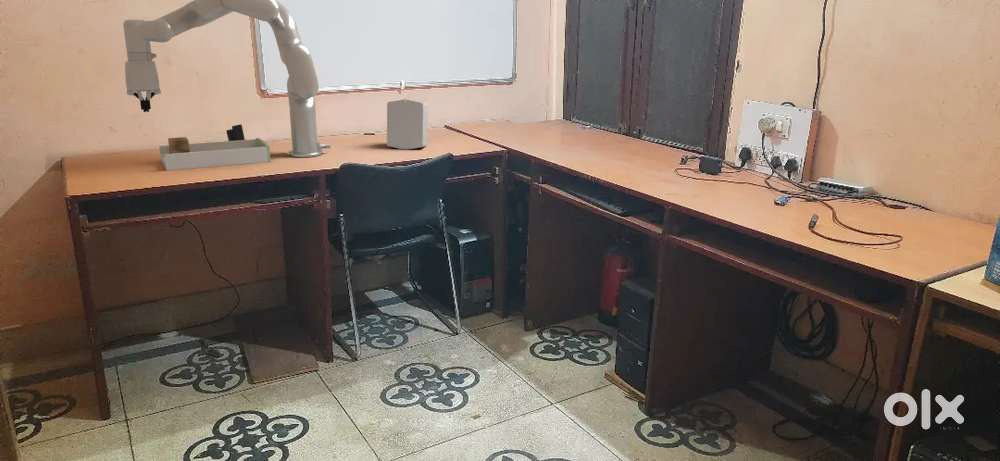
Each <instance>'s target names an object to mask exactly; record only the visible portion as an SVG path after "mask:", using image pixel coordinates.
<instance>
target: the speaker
mask: <svg viewBox="0 0 1000 461" xmlns="http://www.w3.org/2000/svg"><path fill="white" fill-rule="evenodd" d="M226 135H227V141H237V140H246V138H245V134H244V129H243V125H242V124H236V125H232V126H231V129H227V130H226Z"/></svg>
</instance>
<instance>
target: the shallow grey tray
mask: <svg viewBox="0 0 1000 461" xmlns="http://www.w3.org/2000/svg"><path fill="white" fill-rule="evenodd" d="M158 147H159V155H160V162H161V163H162V165H163V167H164V169H165V170H166V171H176V170H177V171H179V170H189V169H200V168H201V169H202V168H212V167H213V168H214V167H224V166H236V165H248V164H250V165H251V164H259V163H260V164H261V163H271V153H270V152H271V149H270V145H269V144H268V143H266V142H265V141H264V140H262V139H261V138H260V137H255V138H254V139H253V138H251V139H245V140H237V141H228V140H227V141H226V140H225V141H213V142H212V141H210V142H198V143H197V142H196V143H195V142H194V143H189V151H190V152H189V153H175V154H170V151H169V144H166V145H158Z"/></svg>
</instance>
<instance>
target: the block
mask: <svg viewBox="0 0 1000 461" xmlns="http://www.w3.org/2000/svg"><path fill="white" fill-rule="evenodd" d="M167 141H168V145H169V151H170V154H175V153H189V152H190V151H189V144H190V143H189V138H187V136H183V137H182V136H181V137H169V138H167Z"/></svg>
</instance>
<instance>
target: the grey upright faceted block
mask: <svg viewBox="0 0 1000 461" xmlns="http://www.w3.org/2000/svg"><path fill="white" fill-rule="evenodd" d="M428 112H429V111H428V104H427V103H426V102H425V103H424V102H419V101H415V100H410V99H406V98H405V99H399V100H392V101H387V103H386V145H387V147H389V148H390V147H391V148H395V149H400V150H411V149H418V148H424V147H427V144H428V116H429V115H428Z"/></svg>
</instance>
